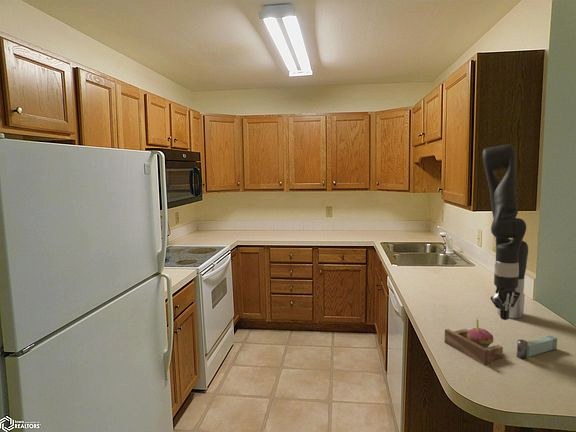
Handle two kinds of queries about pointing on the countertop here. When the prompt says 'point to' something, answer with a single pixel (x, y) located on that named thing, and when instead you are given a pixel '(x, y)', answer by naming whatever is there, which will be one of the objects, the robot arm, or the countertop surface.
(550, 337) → the bar
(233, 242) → the countertop surface
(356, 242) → the countertop surface
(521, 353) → the post
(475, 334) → the cupcake
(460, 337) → the wooden u-shaped bracket
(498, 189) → the robot arm
